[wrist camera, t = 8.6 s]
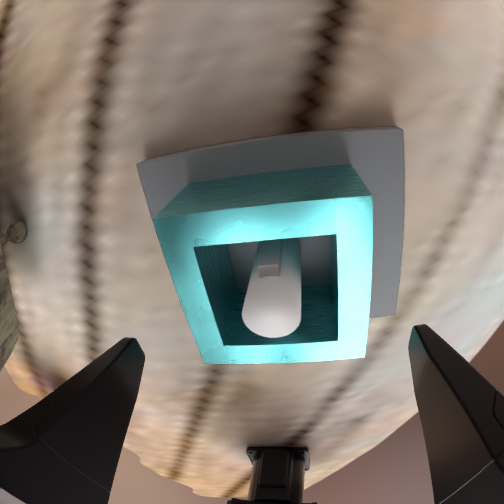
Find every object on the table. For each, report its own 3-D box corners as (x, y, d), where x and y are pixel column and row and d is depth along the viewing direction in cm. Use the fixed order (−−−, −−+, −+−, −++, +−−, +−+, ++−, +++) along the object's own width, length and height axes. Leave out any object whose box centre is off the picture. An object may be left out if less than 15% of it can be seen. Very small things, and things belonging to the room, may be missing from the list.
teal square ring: (354, 300, 16) (364, 357, 12) (221, 308, 17) (204, 363, 14) (351, 164, 12) (372, 195, 9) (188, 183, 14) (152, 219, 10)
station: (391, 303, 17) (416, 385, 12) (194, 317, 19) (164, 393, 14) (396, 126, 12) (457, 155, 7) (145, 159, 14) (72, 203, 9)
